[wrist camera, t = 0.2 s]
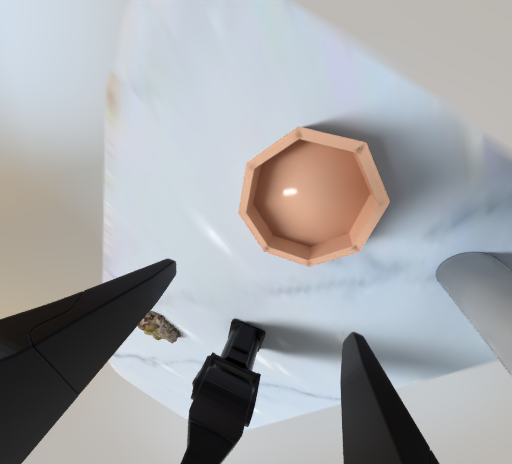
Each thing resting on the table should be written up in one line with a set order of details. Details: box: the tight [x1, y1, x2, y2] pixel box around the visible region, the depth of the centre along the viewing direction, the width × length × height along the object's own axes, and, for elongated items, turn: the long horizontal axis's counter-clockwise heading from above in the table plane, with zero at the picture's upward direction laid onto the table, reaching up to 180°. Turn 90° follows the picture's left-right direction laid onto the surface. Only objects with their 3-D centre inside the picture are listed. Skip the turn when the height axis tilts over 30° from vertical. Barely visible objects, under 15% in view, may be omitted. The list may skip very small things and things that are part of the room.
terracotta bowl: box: [239, 127, 390, 267], centre depth 19 cm, size 13×13×4 cm
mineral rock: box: [138, 311, 179, 343], centre depth 44 cm, size 11×4×8 cm
